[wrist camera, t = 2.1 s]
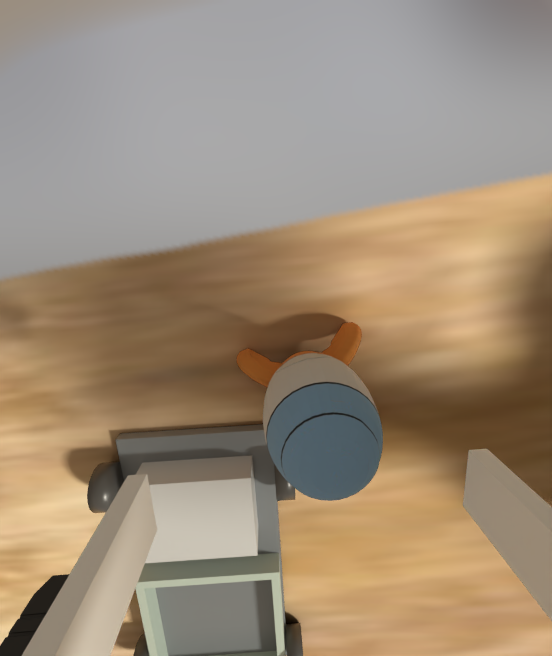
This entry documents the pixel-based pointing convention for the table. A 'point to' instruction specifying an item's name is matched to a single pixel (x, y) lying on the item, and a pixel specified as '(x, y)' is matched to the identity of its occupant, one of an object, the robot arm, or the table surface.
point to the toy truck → (207, 541)
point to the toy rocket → (319, 418)
